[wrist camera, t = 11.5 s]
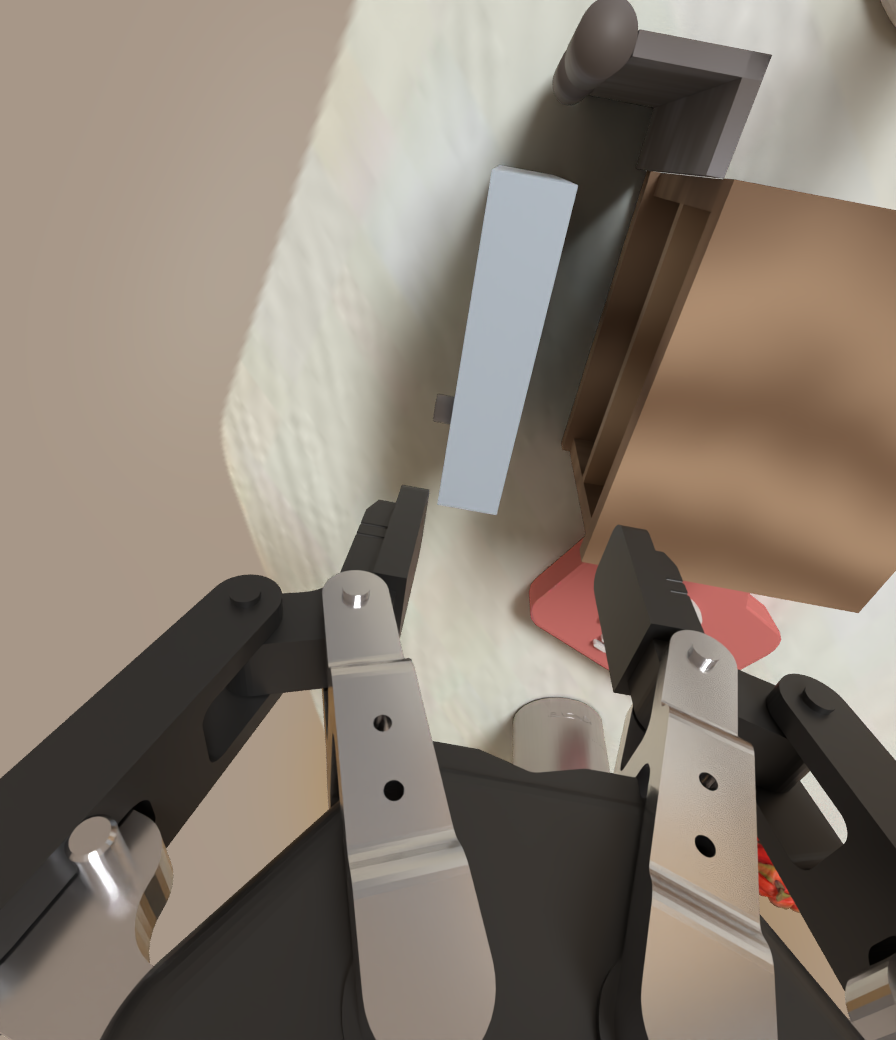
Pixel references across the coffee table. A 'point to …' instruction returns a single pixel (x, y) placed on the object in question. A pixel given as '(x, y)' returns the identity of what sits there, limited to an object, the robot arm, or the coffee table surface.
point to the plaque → (722, 612)
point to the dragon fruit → (772, 882)
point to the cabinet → (734, 344)
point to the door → (502, 332)
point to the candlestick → (890, 9)
